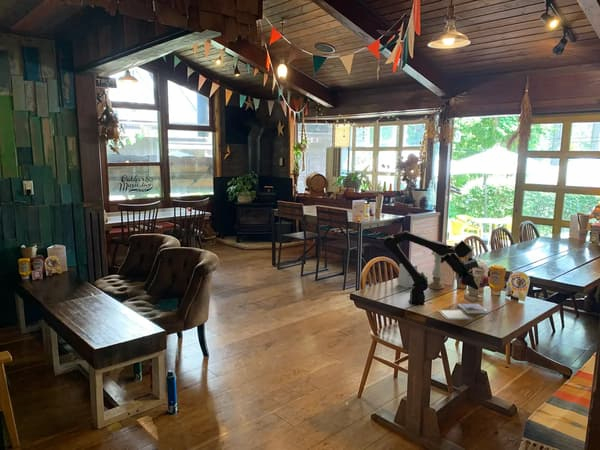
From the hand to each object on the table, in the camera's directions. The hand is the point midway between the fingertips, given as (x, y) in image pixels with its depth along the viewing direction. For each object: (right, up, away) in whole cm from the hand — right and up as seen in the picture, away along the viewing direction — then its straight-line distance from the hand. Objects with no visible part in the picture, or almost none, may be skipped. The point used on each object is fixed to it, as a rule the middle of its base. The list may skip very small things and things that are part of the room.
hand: (477, 287), depth 214 cm
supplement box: (-25, -5, +39) cm, 46 cm away
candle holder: (-9, -5, +37) cm, 39 cm away
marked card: (-13, -12, -5) cm, 18 cm away
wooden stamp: (-2, -6, +1) cm, 7 cm away
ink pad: (-2, -11, +2) cm, 11 cm away
